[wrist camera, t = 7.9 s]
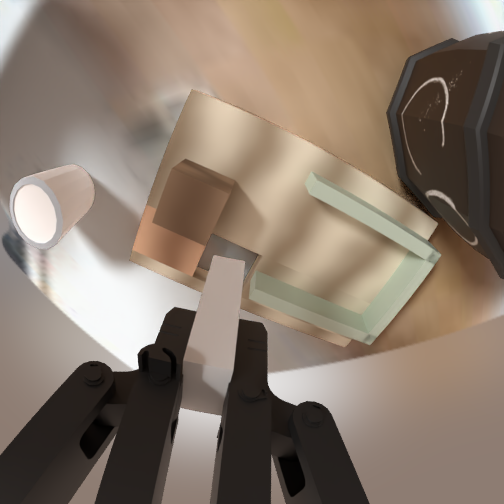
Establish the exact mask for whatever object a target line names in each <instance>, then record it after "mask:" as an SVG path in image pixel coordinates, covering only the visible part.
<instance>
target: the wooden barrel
mask: <svg viewBox="0 0 504 504" xmlns="http://www.w3.org/2000/svg"><path fill="white" fill-rule="evenodd" d="M386 114H387V119H388V123H389V128H390V134H391V139H392V144H393V150H394V156H395V162H396V169H397V174H398V176H399V178H400V179H401V180H402V181H403V182H404V183H405V184H406V185H407V186H408V188H409V189H410V190H411V191H412V192H413V193H414V194H415V195H416V197H417V198H418V199H419V200H420V201H421V202H422V204H423V205H424V206H425V207H426V208H427V209H428V211H429V212H430V213H431V214H432V215H433V217H438V218H443V219H444V220H445V221H446V222H447V223H448V225H449V226H450V227H451V228H452V229H453V230H454V232H456V233H457V234H458V235H459V236H460V237H461V238H463V239H464V240H465V241H466V242H467V243H468V244H469V245H470V246H472V247H473V248H474V249H475V250H476V251H478V252H479V253H481V254H482V255H484V256H485V257H487V258H488V259H490V261H491V263H492V264H493V266H494V268H495V270H496V271H497V273H498V275H499V277H500V278H502V279H504V31H498V32H491V33H485V34H479V35H475V36H472V37H470V38H467V39H465V40H462V41H458V40H455V39H453V38H451V39H449V40H446V41H444V42H441V43H439V44H437V45H434V46H432V47H430V48H428V49H425V50H423V51H421V52H419V53H417V54H414V55H412V56H410V57H409V58H408V59H407V60H406V63H405V66H404V68H403V71H402V74H401V76H400V79H399V82H398V84H397V87H396V89H395V92H394V95H393V97H392V100H391V102H390V105H389V107H388V110H387V112H386Z"/></svg>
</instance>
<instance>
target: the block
mask: <svg viewBox="0 0 504 504" xmlns="http://www.w3.org/2000/svg"><path fill="white" fill-rule="evenodd" d="M234 183H235V180H233V179H231V178H229V177H227V176H224V175H222V174H220V173H218V172H215V171H213V170H211V169H209V168H206V167H204V166H202V165H199V164H197V163H195V162H193V161H190V160H188V159H186V158H185V159H184V160H183V161H181V162H180V163H179V164H177V165H176V166H174V167H173V168H172V169H171V172H170V174H169V177H168V179H167V182H166V185H165V187H164V190H163V193H162V195H161V198H160V201H159V204H158V207H157V209H156V212H155V215H154V218H153V221H152V223H154V224H156V225H159V226H161V227H163V228H165V229H167V230H170V231H172V232H174V233H176V234H179V235H181V236H183V237H185V238H188V239H190V240H192V241H195V242H197V243H199V244H201V245H204V246H206V245H207V243H208V241H209V238H210V236H211V234H212V232H213V230H214V228H215V225H216V223H217V221H218V219H219V217H220V215H221V212H222V210H223V208H224V206H225V204H226V202H227V200H228V197H229V195H230V193H231V190H232V188H233V185H234Z"/></svg>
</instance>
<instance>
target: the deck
mask: <svg viewBox="0 0 504 504" xmlns="http://www.w3.org/2000/svg"><path fill="white" fill-rule="evenodd" d="M185 158H186V159H188V160H190V161H193V162H195V163H197V164H199V165H202V166H204V167H206V168H209V169H211V170H213V171H215V172H218V173H220V174H222V175H224V176H227V177H229V178H231V179H233V180H235V183H234V185H233V188H232V190H231V193H230V195H229V197H228V200H227V202H226V204H225V206H224V208H223V210H222V212H221V215H220V217H219V219H218V221H217V223H216V225H215V228H214V230H213V232H212V234H214V235H216V236H219V237H221V238H223V239H225V240H228V241H230V242H232V243H234V244H237V245H239V246H241V247H243V248H246V249H248V250H250V251H253V252H255V253H257V254H258V256H257V258H256V260H255V262H254V264H253V265H252V267H251V269H250V271H249V273H248V274H247V276H246V278H245V280H244V282H243V287H242V296H241V305H240V309H243V310H245V311H248V312H250V313H253V314H256V315H258V316H261V317H263V318H266V319H268V320H271V321H274V322H276V323H279V324H281V325H284V326H287V327H289V328H292V329H295V330H297V331H300V332H303V333H306V334H308V335H311V336H314V337H317V338H319V339H322V340H325V341H328V342H331V343H334V344H336V345H339V346H342V347H346V346H347V345H348V344H349V342H350V341H351V340H352V338H349V337H346V336H343V335H341V334H338V333H335V332H333V331H330V330H327V329H325V328H322V327H319V326H317V325H314V324H311V323H309V322H306V321H304V320H301V319H298V318H296V317H293V316H291V315H288V314H286V313H283V312H281V311H278V310H275V309H273V308H270V307H268V306H265V305H263V304H260V303H258V302H256V301H253V300H251V299H249V292H250V280H251V278H252V277H253V275H254V273H255V271H256V270H257V271H259V272H261V273H264V274H266V275H268V276H271V277H273V278H275V279H278V280H280V281H282V282H285V283H287V284H289V285H292V286H294V287H296V288H299V289H301V290H303V291H306V292H308V293H310V294H313V295H315V296H317V297H320V298H322V299H325V300H327V301H329V302H332V303H334V304H336V305H339V306H341V307H344V308H346V309H348V310H351V311H353V312H356V313H358V314H360V315H362V314H363V312H364V311H365V310H366V309H367V307H368V306H369V305H370V304H371V302H372V301H373V300H374V298H375V297H376V296H377V295H378V293H379V292H380V291H381V289H382V288H383V287H384V285H385V284H386V283H387V281H388V280H389V279H390V277H391V276H392V274H393V273H394V272H395V270H396V269H397V268H398V266H399V265H400V263H401V262H402V260H403V259H404V258H405V256H406V255H407V253H408V252H409V250H408V249H407V248H405V247H403V246H402V245H400V244H398V243H397V242H395V241H393V240H392V239H390V238H388V237H387V236H385V235H383V234H381V233H380V232H378V231H376V230H375V229H373V228H371V227H369V226H367V225H366V224H364V223H362V222H360V221H359V220H357V219H355V218H353V217H351V216H350V215H348V214H346V213H344V212H342V211H340V210H339V209H337V208H335V207H333V206H331V205H329V204H327V203H325V202H323V201H322V200H320V199H318V198H316V197H314V196H312V195H310V194H309V192H308V190H307V188H306V186H305V182H306V180H307V179H308V177H309V175H310V173H311V171H312V172H314V173H316V174H318V175H319V176H321V177H323V178H325V179H327V180H329V181H331V182H332V183H334V184H336V185H338V186H340V187H341V188H343V189H345V190H347V191H348V192H350V193H352V194H354V195H355V196H357V197H359V198H361V199H362V200H364V201H366V202H367V203H369V204H371V205H373V206H374V207H376V208H378V209H379V210H381V211H382V212H384V213H386V214H387V215H389V216H391V217H392V218H394V219H395V220H397V221H399V222H400V223H402V224H403V225H405V226H406V227H408V228H410V229H411V230H413V231H414V232H416V233H417V234H419V235H420V236H422V237H423V238H425V239H426V240H428V239H429V238H430V236H431V235H432V233H433V232H434V230H435V228H436V227H437V225H438V223H437V222H436V221H435V220H434V219H432V218H431V217H430V216H429V215H427V214H426V213H425V212H423V211H422V210H420V209H419V208H417V207H416V206H415V205H413V204H412V203H410V202H409V201H407V200H406V199H404V198H403V197H401V196H400V195H398V194H397V193H395V192H394V191H392V190H391V189H389V188H388V187H386V186H385V185H383V184H381V183H380V182H378V181H377V180H375V179H373V178H372V177H370V176H369V175H367V174H365V173H364V172H362V171H360V170H359V169H357V168H355V167H354V166H352V165H350V164H349V163H347V162H345V161H343V160H342V159H340V158H338V157H336V156H335V155H333V154H331V153H329V152H327V151H326V150H324V149H322V148H320V147H318V146H316V145H315V144H313V143H311V142H309V141H307V140H305V139H303V138H301V137H299V136H297V135H296V134H294V133H292V132H290V131H288V130H286V129H284V128H282V127H280V126H277V125H275V124H273V123H271V122H269V121H267V120H265V119H263V118H261V117H259V116H256V115H254V114H252V113H250V112H248V111H245V110H243V109H241V108H238V107H236V106H234V105H232V104H229V103H227V102H224V101H222V100H220V99H217V98H215V97H212V96H210V95H207V94H205V93H202V92H200V91H197V90H191V92H190V94H189V96H188V99H187V101H186V103H185V105H184V108H183V110H182V112H181V115H180V117H179V119H178V122H177V124H176V126H175V129H174V131H173V134H172V136H171V138H170V141H169V143H168V146H167V149H166V151H165V154H164V156H163V159H162V162H161V164H160V167H159V170H158V172H157V175H156V178H155V181H154V183H153V186H152V189H151V192H150V195H149V198H148V201H147V204H146V207H145V210H144V213H143V216H142V219H141V222H140V226H139V229H138V232H137V235H136V239H135V242H134V245H133V249H132V252H131V256H130V261H132V262H134V263H136V264H138V265H140V266H143V267H145V268H147V269H149V270H151V271H154V272H156V273H158V274H160V275H162V276H165V277H167V278H169V279H171V280H174V281H176V282H178V283H181V284H183V285H185V286H188V287H190V288H192V289H195V290H197V291H199V292H203V289H204V285H205V282H206V279H207V275H208V272H209V271H206V270H204V269H202V268H199V267H197V265H198V262H199V260H200V258H201V256H202V253H203V251H204V249H205V247H206V246H204V245H201V244H199V243H197V242H195V241H192V240H190V239H188V238H185V237H183V236H181V235H179V234H176V233H174V232H172V231H170V230H167V229H165V228H163V227H161V226H159V225H156V224H154V223H152V221H153V218H154V215H155V212H156V209H157V207H158V204H159V201H160V198H161V195H162V193H163V190H164V187H165V185H166V182H167V179H168V177H169V174H170V172H171V169H172V168H173V167H174V166H176V165H177V164H179V163H180V162H181V161H183V160H184V159H185Z"/></svg>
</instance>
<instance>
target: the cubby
mask: <svg viewBox="0 0 504 504" xmlns="http://www.w3.org/2000/svg"><path fill="white" fill-rule="evenodd" d="M305 186H306V188H307V190H308V192H309V194H310V195H312V196H314V197H316V198H318V199H320V200H322V201H323V202H325V203H327V204H329V205H331V206H333V207H335V208H337V209H339V210H340V211H342V212H344V213H346V214H348V215H350V216H351V217H353V218H355V219H357V220H359V221H360V222H362V223H364V224H366V225H367V226H369V227H371V228H373V229H375V230H376V231H378V232H380V233H381V234H383V235H385V236H387V237H388V238H390V239H392V240H393V241H395V242H397V243H398V244H400V245H402V246H403V247H405V248H407V249H408V250H409V252H408V253H407V255H406V256H405V258H404V259H403V260H402V262H401V263H400V265H399V266H398V268H397V269H396V270H395V272H394V273H393V274H392V276H391V277H390V279H389V280H388V281H387V283H386V284H385V285H384V287H383V288H382V289H381V291H380V292H379V293H378V295H377V296H376V297H375V298H374V300H373V301H372V302H371V304H370V305H369V306H368V307H367V309H366V310H365V311H364V312H363V314H362V315H360V314H358V313H356V312H353V311H351V310H348V309H346V308H344V307H341V306H339V305H336V304H334V303H332V302H329V301H327V300H325V299H322V298H320V297H317V296H315V295H313V294H310V293H308V292H306V291H303V290H301V289H299V288H296V287H294V286H292V285H289V284H287V283H285V282H282V281H280V280H278V279H275V278H273V277H271V276H268V275H266V274H264V273H261V272H259V271H257V270H256V271H255V273H254V275H253V277H252V278H251V280H250V292H249V299H251V300H253V301H256V302H258V303H260V304H263V305H265V306H268V307H270V308H273V309H275V310H278V311H281V312H283V313H286V314H288V315H291V316H293V317H296V318H298V319H301V320H304V321H306V322H309V323H311V324H314V325H317V326H319V327H322V328H325V329H327V330H330V331H333V332H335V333H338V334H341V335H343V336H346V337H349V338H352V339H354V340H357V341H360V342H363V343H366V344H368V345H371V343H372V342H373V341H374V340H375V339H376V338H377V337H378V336H379V334H380V333H381V332H382V331H383V330H384V329H385V328H386V326H387V325H388V324H389V323H390V322H391V320H392V319H393V318H394V317H395V316H396V314H397V313H398V312H399V311H400V310H401V308H402V307H403V306H404V305H405V303H406V302H407V301H408V300H409V298H410V297H411V296H412V294H413V293H414V292H415V291H416V289H417V288H418V287H419V285H420V284H421V283H422V281H423V280H424V279H425V277H426V276H427V275H428V273H429V272H430V270H431V269H432V268H433V266H434V265H435V263H436V262H437V261H438V259H439V258H440V256H441V254H440V253H439V252H438V251H437V250H436V248H435V247H434V246H433V245H432V244H431V243H430V242H429V241H428V240H426V239H425V238H423V237H422V236H420V235H419V234H417V233H416V232H414V231H413V230H411V229H410V228H408V227H406V226H405V225H403V224H402V223H400V222H399V221H397V220H395V219H394V218H392V217H391V216H389V215H387V214H386V213H384V212H382V211H381V210H379V209H378V208H376V207H374V206H373V205H371V204H369V203H367V202H366V201H364V200H362V199H361V198H359V197H357V196H355V195H354V194H352V193H350V192H348V191H347V190H345V189H343V188H341V187H340V186H338V185H336V184H334V183H332V182H331V181H329V180H327V179H325V178H323V177H321V176H319V175H318V174H316V173H314V172H312V171H311V173H310V175H309V177H308V179H307V180H306V182H305Z"/></svg>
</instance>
